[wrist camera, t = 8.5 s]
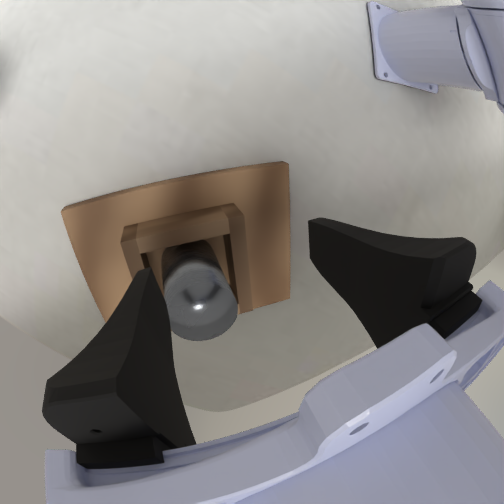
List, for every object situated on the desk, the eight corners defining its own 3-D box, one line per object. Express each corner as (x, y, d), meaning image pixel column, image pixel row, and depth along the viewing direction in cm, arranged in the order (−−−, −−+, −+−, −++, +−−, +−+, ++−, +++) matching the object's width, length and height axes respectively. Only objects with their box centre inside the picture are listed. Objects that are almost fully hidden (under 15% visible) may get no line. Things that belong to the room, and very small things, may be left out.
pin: (206, 228, 19) (228, 274, 14) (221, 273, 21) (244, 326, 16) (152, 247, 18) (154, 300, 13) (172, 291, 20) (182, 348, 15)
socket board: (282, 161, 19) (305, 171, 16) (285, 292, 25) (302, 315, 22) (64, 206, 16) (48, 225, 13) (116, 333, 22) (114, 362, 19)
